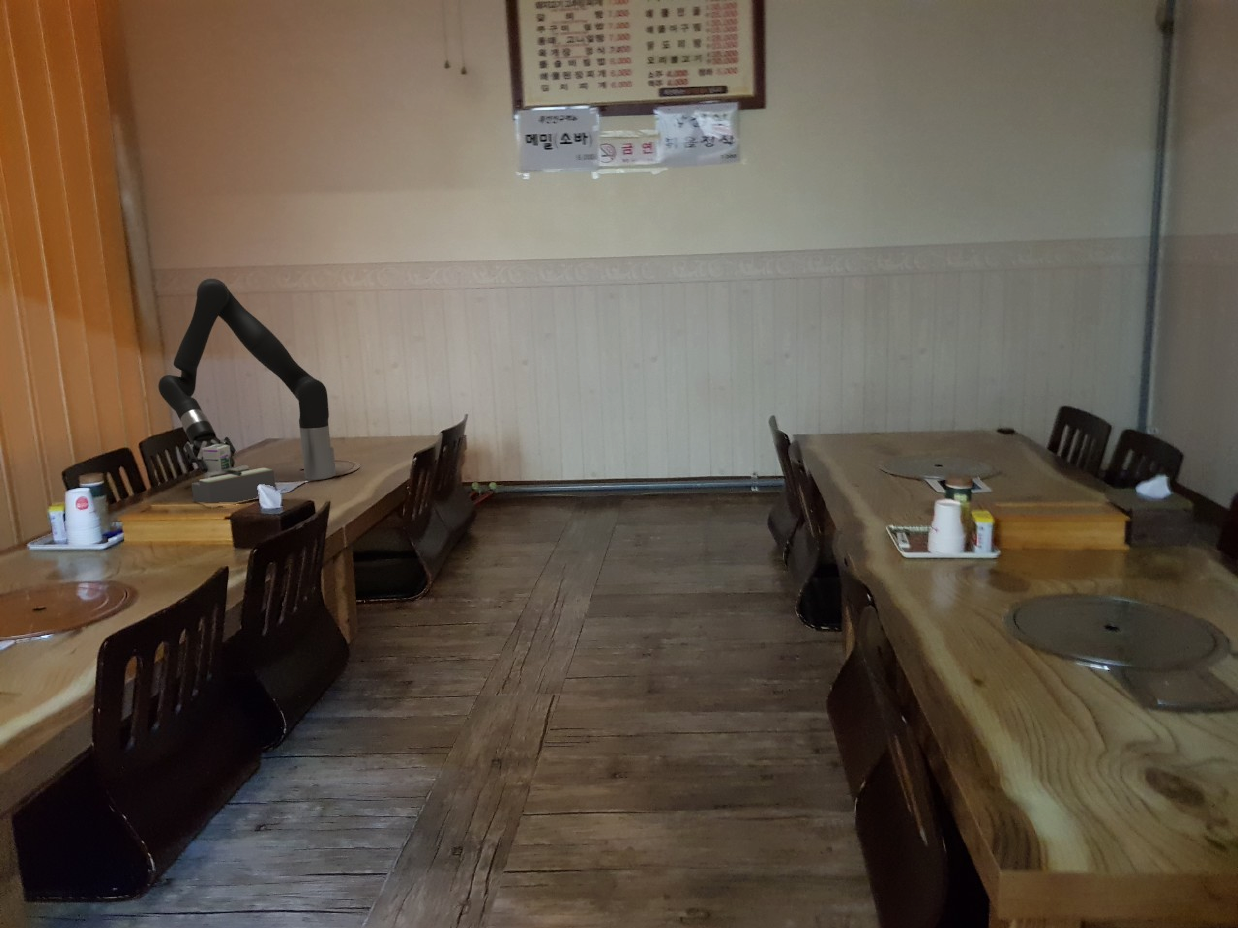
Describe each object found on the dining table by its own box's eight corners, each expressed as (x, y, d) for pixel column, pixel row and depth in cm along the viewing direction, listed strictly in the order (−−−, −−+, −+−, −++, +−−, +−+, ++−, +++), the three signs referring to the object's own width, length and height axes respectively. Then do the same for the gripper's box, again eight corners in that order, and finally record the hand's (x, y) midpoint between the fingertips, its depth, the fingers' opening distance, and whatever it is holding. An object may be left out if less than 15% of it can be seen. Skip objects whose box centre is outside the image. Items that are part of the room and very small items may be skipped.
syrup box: (223, 495, 298) (219, 448, 295) (205, 494, 299) (201, 447, 296) (234, 491, 303) (230, 444, 300) (217, 490, 305) (213, 443, 302)
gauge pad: (248, 491, 302) (245, 464, 300) (262, 494, 296) (259, 467, 295) (210, 499, 293) (207, 472, 292) (223, 502, 288) (220, 475, 286)
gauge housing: (255, 490, 307) (252, 465, 306) (276, 495, 299) (273, 469, 297) (192, 503, 293) (188, 477, 291) (211, 509, 285) (208, 482, 283)
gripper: (177, 423, 297) (199, 465, 292) (223, 416, 307) (245, 457, 302) (171, 439, 302) (193, 480, 297) (217, 431, 312) (238, 472, 307)
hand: (219, 468), depth 299 cm, fingers closed on syrup box, 7 cm apart
